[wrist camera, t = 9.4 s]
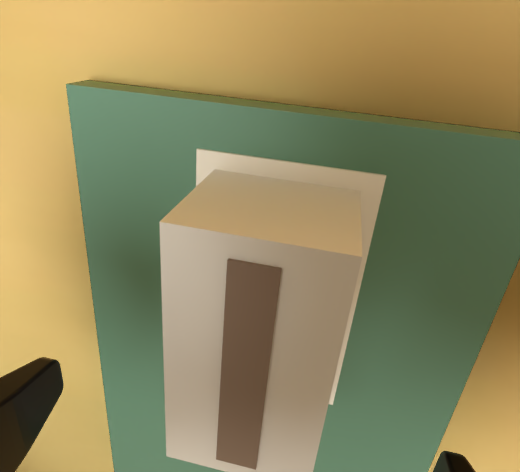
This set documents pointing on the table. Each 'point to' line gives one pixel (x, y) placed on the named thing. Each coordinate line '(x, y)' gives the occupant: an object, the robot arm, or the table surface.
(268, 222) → the block
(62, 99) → the table surface
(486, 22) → the table surface
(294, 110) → the board
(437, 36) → the table surface
